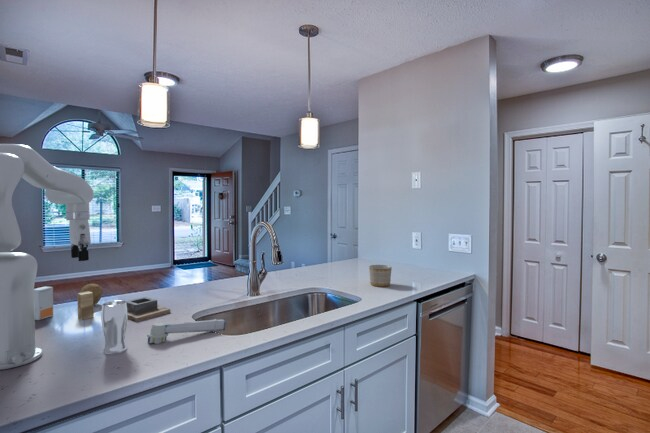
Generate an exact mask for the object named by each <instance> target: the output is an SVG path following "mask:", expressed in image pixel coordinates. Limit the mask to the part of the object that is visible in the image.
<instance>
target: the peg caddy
mask: <svg viewBox="0 0 650 433" xmlns="http://www.w3.org/2000/svg"><path fill="white" fill-rule="evenodd" d="M125 301H126V302H127V312H128V319H127V320H130V321H133V322H136V323H137V322H141V321H145V320H149V319H152V318H155V317H160V316H162V315H167V314H170V313H171V308H168V307H165V306H163V305H162V306H161V305H159V304H158V299H156V298H151V297H148V296H144V297H140V298H134V299H130V300H125Z"/></svg>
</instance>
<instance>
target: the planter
mask: <svg viewBox="0 0 650 433" xmlns="http://www.w3.org/2000/svg"><path fill="white" fill-rule="evenodd" d="M392 268H393V267H392V266H391V265H388V264H371V265H369V266H368V269H369V270H368V271H369V272H368V273H369V280H370V281H369V283H370V285H371V286H373V287H377V288H386V287H389V286H390V285H391V276H392V270H393V269H392Z"/></svg>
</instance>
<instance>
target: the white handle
mask: <svg viewBox="0 0 650 433" xmlns="http://www.w3.org/2000/svg"><path fill="white" fill-rule="evenodd" d="M226 325H227V321H226V319H217V318H213V319H209V320H197V321H188V322H185V321H184V322H177V323H164V322H156V323H153V324H152V325H151V328H150V331H149V332H147V333H146V336H147V344H153V343H154V344H155V345H158V344H161V343H165V342H166V341H167V337H168V336H169V334H183V333H185V334H186V333H206V332H213V333H216V332H221V331H225V330H226Z"/></svg>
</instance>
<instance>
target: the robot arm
mask: <svg viewBox="0 0 650 433" xmlns="http://www.w3.org/2000/svg"><path fill="white" fill-rule="evenodd" d="M21 179H23V180H24V181H25V182H28V184H30V185H31V186H33V187H36V188H38V189H43V190H45V197H46V199H47V200H48V201H49V202H50V203H52V204H55V205H65V216H66V217H65V218H66V219H65V220H66V221H69V223H68V224H69V227H68V229H69V230H68V231H69V232H68V233H69V234H68V235H69V243H70V255H71V256H70V257H71V258H72V259H77V258H78V261H79V262H85V261H89V255H90V254H89V245H91V243H92V242H91V241H92V240H91V231H90V224H89V221H90V219H91V216H90V215H91V214H90V203H91V202H92V201H93V199H94V197H95V196H94V195H95V194H94V190H93V188H92V186H91V185H90V184H89V182H88V181H86V180H85V178H82V177H81V176H79V175H77V174H75V173H71V172H70V171H67V170H64V169H61V168H58V167H56V166H53V164H51V163H50V162H48V161H47V160H46V159H45V158H44V157H43V156H42V155H40V153H39V152H37V151H36V150H34V149H33V148H32V147H31V146H29V145H25V144H21V143H20V144H18V143H17V144H16V143H0V371H1V370H7V369H8V370H9V369H12V368H17V367H20V366H24V365H27V364H29V363H32V362H34V361H36V360H38V359H39V358H40V357H41V356H43V349H41V348H40V347H36V322H35V321H36V320H35V314H34V289H35V283H36V278H37V273H38V266H39V265H38V262H37V259H36V258H35V256H33V255H32V254H29V253H26V252H18V251H17V252H16V251H15V252H14V251H13V250H15V249H17V248H18V247H20V245H21V244H22V234H21V230H20V226H19V223H18V220H17V217H16V214H15V210H14V207H13V202H12V201H13V194H14V192H15V189H16V187H17V186H18V185H19V184H18V183H19V182H20V181H21ZM11 251H12V252H11Z"/></svg>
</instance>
